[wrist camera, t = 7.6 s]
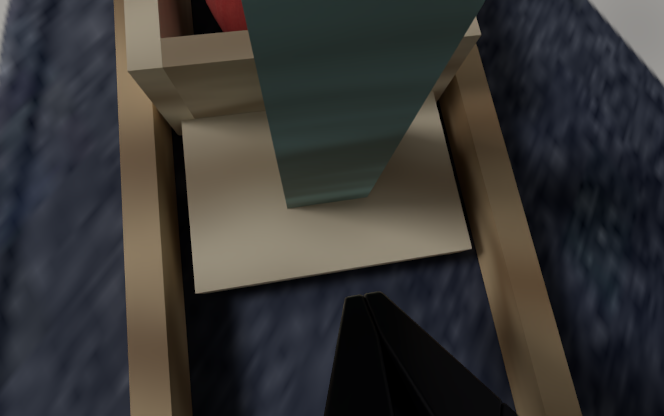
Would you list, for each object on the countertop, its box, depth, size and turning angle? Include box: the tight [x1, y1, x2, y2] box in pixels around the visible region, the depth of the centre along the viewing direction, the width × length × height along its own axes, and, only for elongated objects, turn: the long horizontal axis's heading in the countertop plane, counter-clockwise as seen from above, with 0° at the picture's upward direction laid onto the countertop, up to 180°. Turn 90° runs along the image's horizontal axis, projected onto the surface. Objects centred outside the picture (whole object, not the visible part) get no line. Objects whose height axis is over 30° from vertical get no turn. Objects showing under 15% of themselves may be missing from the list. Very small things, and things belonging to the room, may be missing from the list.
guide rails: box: [114, 0, 582, 416], centre depth 15 cm, size 24×14×2 cm, turn 9°
